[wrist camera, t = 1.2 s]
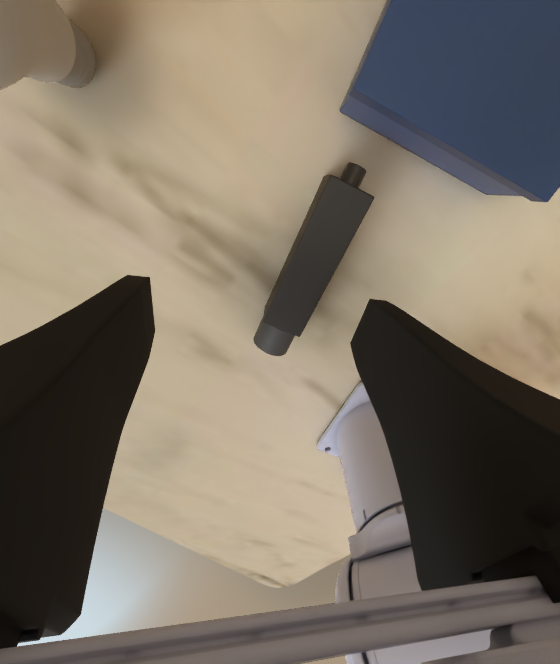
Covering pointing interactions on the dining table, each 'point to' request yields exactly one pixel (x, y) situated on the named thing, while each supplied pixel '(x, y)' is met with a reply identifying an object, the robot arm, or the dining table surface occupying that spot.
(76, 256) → the dining table surface
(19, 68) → the lightbulb
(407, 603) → the robot arm
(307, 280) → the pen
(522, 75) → the blue box
